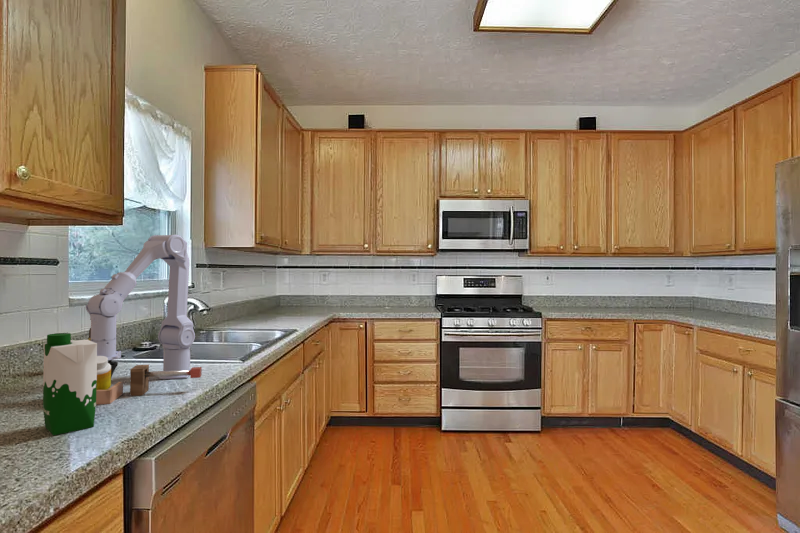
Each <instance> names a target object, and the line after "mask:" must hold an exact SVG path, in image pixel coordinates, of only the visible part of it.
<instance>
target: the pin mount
mask: <svg viewBox="0 0 800 533" xmlns="http://www.w3.org/2000/svg"><path fill="white" fill-rule="evenodd" d="M149 368H150V364H136V365H135V366H133V367H132V368H130V370H129V371H130V372H129V374H130V375H129V376H130V378H129V379H130V380H129V381H130V382H129V383H130V384H129V397H136V396H137V397H138V396H139V397H140V396H141V397H142V396H144V395H145V394H146V393H147V392H148V391H149V390H150V388H149V383H150V382H149V380H150V377H145V372H150V369H149Z"/></svg>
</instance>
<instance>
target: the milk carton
mask: <svg viewBox="0 0 800 533" xmlns="http://www.w3.org/2000/svg"><path fill="white" fill-rule="evenodd" d="M71 335H72V333H70V332H60V333H59V332H58V333H57V332H56V333H48V334H47V335H46V342H44V343H43V371H42V372H43V376H42V377H43V379H42V380H43V381H42V384H43V388H42V392H43V394H42V410H43V420H44V427H45V428H46V430H47V431H48V432H49V433H50V434H51V435H52V436H57V435H62V434H66V433H72V432H76V431H80V430H81V431H82V430H85V429H91V428H94V427H95V426H94V425H95V417H96V408H97V404H96V391H97V343H94V342H92V341H89V340H88V339H77V340H74V339H72V338H71V337H72V336H71Z"/></svg>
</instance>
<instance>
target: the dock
mask: <svg viewBox="0 0 800 533" xmlns="http://www.w3.org/2000/svg"><path fill="white" fill-rule="evenodd" d="M123 394H124V381H118V382H117V383H115V384H113V385H111V388H109V389H108V390H97V391H96V405H110V404H112V403H113V402H115V401H116V400H117V399H119V397H121V396H122V395H123Z"/></svg>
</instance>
